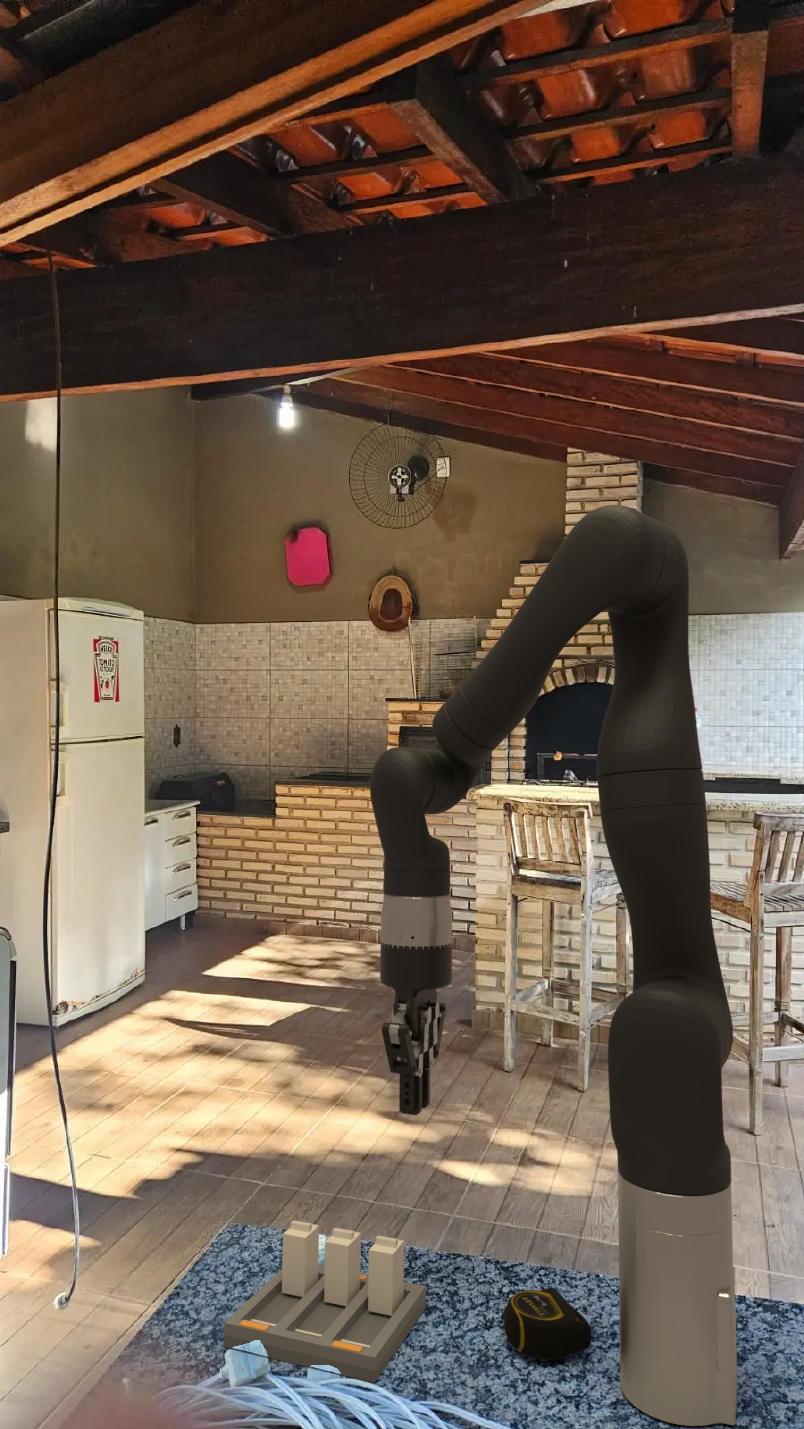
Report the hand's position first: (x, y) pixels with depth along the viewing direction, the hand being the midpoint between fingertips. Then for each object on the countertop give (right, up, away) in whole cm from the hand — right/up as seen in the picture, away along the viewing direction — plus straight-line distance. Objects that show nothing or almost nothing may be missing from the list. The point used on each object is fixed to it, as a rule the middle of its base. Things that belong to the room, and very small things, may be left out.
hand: (414, 1108), depth 98 cm
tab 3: (-11, -15, -5) cm, 20 cm away
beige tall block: (-3, -15, -9) cm, 17 cm away
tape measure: (+12, -16, -12) cm, 24 cm away
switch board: (-8, -16, -10) cm, 21 cm away
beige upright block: (-7, -15, -7) cm, 18 cm away
